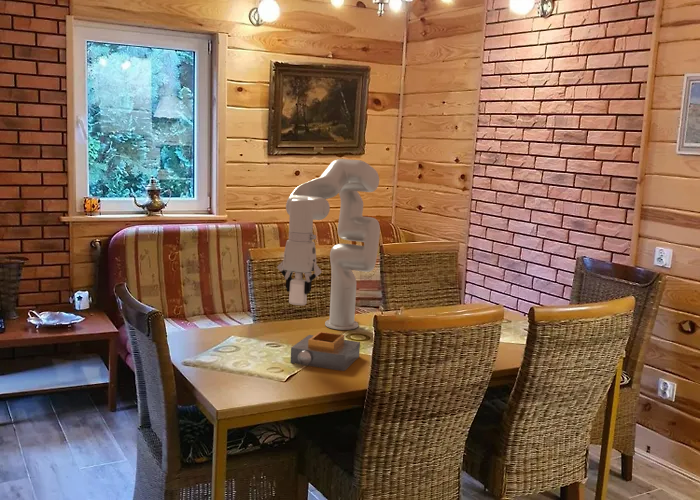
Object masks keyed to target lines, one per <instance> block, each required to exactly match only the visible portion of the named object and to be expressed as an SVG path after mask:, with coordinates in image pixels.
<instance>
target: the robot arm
mask: <svg viewBox="0 0 700 500" xmlns="http://www.w3.org/2000/svg"><path fill="white" fill-rule="evenodd" d="M379 184H380V177H379V174H378V171H377V170H376V169H375V168H374V167H372V165H370V164H369V163H367V162H366V161H363V160H361V159H346V158H338V159H334V160H333V161H331V162H330V164H329V165H328V166H327V167H326V168H325V170H324V171H323V172H322V173H321V174H320V176H319V177H317V178H314V179H312V180H309V181H307V182H304V183H302V184H300V185H298V186H297V187H295V189H293V191H292V192H291V194H290V195H289V196H288V198H287V200H286V202H285V203H286V204H285V209H286V211H285V212H286V213H287V214H288V215H289V218H288V219H289V222H288V239H287V240H286V242H285V246H284V247H285V248H284V253H283V259H282V261H281V262H280V263H279V264H278V265H277V266H276V269H278V271H280V272H281V275H282V276H283V277H284V279H285V289H286V292H287V293H289V289H290V281H291V280H292V279H293V278H292V276H293V273H295V272H299V273H303V274H304V277H305V281H306V282H305V290H304V293H305V294H307V295H308V294H309V293H311V291H312V281H313V280H315V279H316V278H317V277H318V276H319V275H321V273H322V269H321V268H320V266H318V264H317V251H316V243H315V241H314V240H316V239H317V235H316V234H314V232H313V227H314V225H313V224H314V221H316V220H317V221H322V220H323V219H326V218H327V217H328V215H329V213H330V210H331V208H330V207H331V206H330V203H329V201H328V199H331V198H335V197H336V196H337V195H338V196H339V198H340V208H339V216H338V223H337V224H338V225H337V235H338V237H339V238H340V240H341V239H342V240H345V241H349V242H359V243H363V245H360V244H359V245H358V244H354V243H353V244H351V243H336V244H335V245H333V246H332V247H331V249H330V253H329V260H330V270H331V274H330V275H331V277H330V278H331V280H330V282H331V284H330V299H329V301H330V302H329V303H330V304H329V319H326V321H324V322H325V323H324V325H325V327H327V328H329V329H331V330H339V331H348V330H350V331H351V330H354V329H355V330H356V329H357V328H358V327H359V323H358V321H356V320H355V314H356V298H357V297H356V296H357V295H356V294H357V279H356V276H355V273H353V271H354V272H355V271H356V272H363V273H369V272H372V271H373V270H374V269H375V266H376V264H377V259H378V258H377V257H378V250H379V243H380V236H381V233H380V232H381V226H380V223H379V221H378V219H376V218H375V217H371V216H363V213H364V201H363V199H362V196H361V195H360V193H359V192H363V193H364V192H365V193H373V192H375V191H376V190H377V189H378V188H379ZM312 272H314V273H312Z"/></svg>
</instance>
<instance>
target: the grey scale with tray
mask: <svg viewBox="0 0 700 500" xmlns="http://www.w3.org/2000/svg"><path fill="white" fill-rule="evenodd" d="M360 348H361V342H360V341H354V340H348V339H345V334H339V333H333V332H326V331H318V332H317V333H315V334H308V335H307V336H305V337H304V338H303V339H301V340H299V341H298V342H297V343H295V344H294V345H292V346H291V347H290V364H295V363H296V365H302V366H310V367H315V368H322V369H326V370H327V369H329V370H335V371H340V372H341V371H342V372H345V371H346V370H347V369H348V368H349V367H350V366H352V364H353V363H354V362H355V361H357V360H358V359H359V358H360V351H361V349H360Z"/></svg>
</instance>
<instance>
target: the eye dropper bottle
mask: <svg viewBox="0 0 700 500" xmlns="http://www.w3.org/2000/svg"><path fill="white" fill-rule="evenodd" d="M303 274H304V273H299V272H294V278H292V280H291V281H290V289H289V292H288V293H289V294H288V304H291V305H293V306H305V305H307V302H308V301H307V300H308V297H307V296H308V294H305V293H304V290H305V282H306V279H303Z"/></svg>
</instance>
